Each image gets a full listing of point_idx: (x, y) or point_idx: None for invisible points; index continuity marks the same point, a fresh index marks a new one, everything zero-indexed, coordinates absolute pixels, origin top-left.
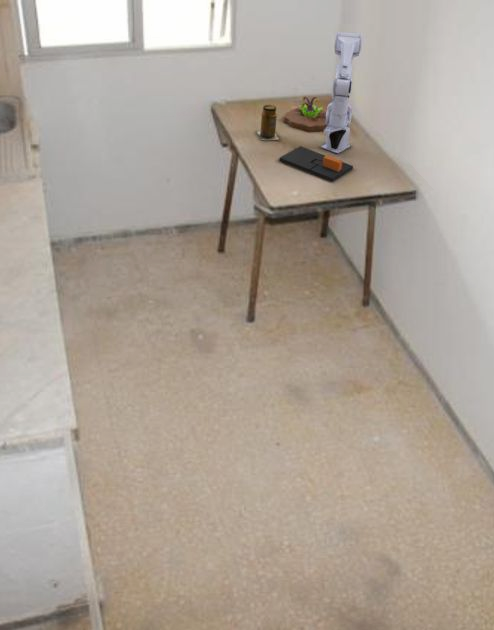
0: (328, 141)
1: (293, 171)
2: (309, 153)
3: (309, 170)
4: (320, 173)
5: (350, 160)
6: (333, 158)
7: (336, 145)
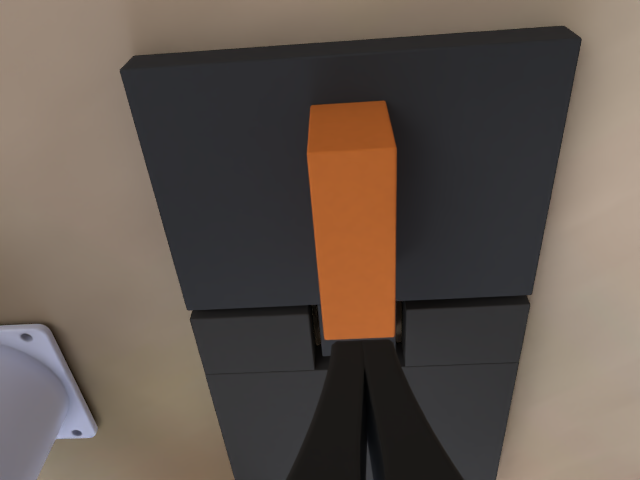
0: (44, 455)
1: (571, 357)
2: (280, 430)
3: (520, 295)
4: (548, 198)
5: (13, 189)
6: (336, 262)
7: (411, 393)
